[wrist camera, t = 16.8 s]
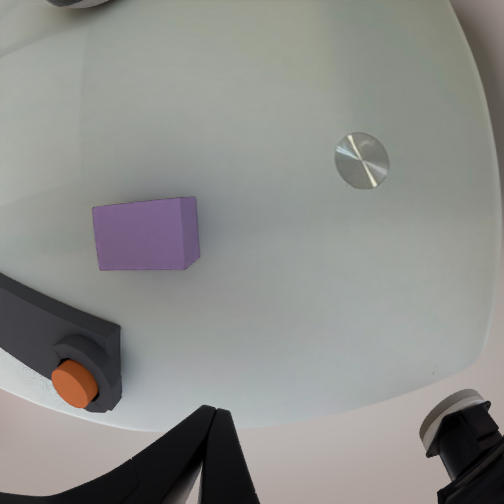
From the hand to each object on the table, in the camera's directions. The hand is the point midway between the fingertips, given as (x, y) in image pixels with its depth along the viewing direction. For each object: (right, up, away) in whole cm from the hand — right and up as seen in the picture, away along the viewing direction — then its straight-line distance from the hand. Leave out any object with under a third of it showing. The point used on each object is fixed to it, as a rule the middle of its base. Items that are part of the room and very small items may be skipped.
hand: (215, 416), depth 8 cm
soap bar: (-5, +7, +11) cm, 14 cm away
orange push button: (-12, -5, +11) cm, 17 cm away
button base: (-18, -3, +14) cm, 23 cm away
